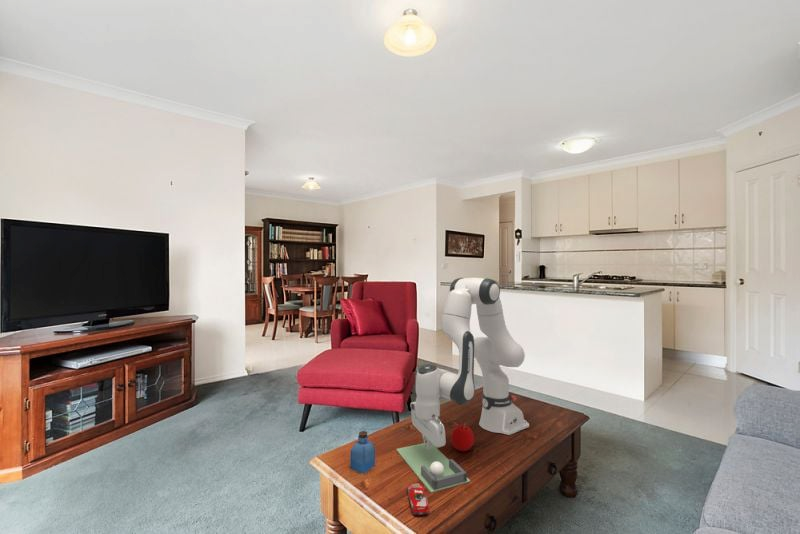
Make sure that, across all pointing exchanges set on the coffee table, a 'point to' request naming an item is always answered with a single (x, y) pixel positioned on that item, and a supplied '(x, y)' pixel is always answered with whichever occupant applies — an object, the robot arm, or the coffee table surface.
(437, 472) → the ball
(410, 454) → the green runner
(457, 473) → the gray u-shaped frame
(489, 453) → the coffee table surface
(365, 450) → the perfume bottle
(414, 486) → the race car
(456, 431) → the fruit
